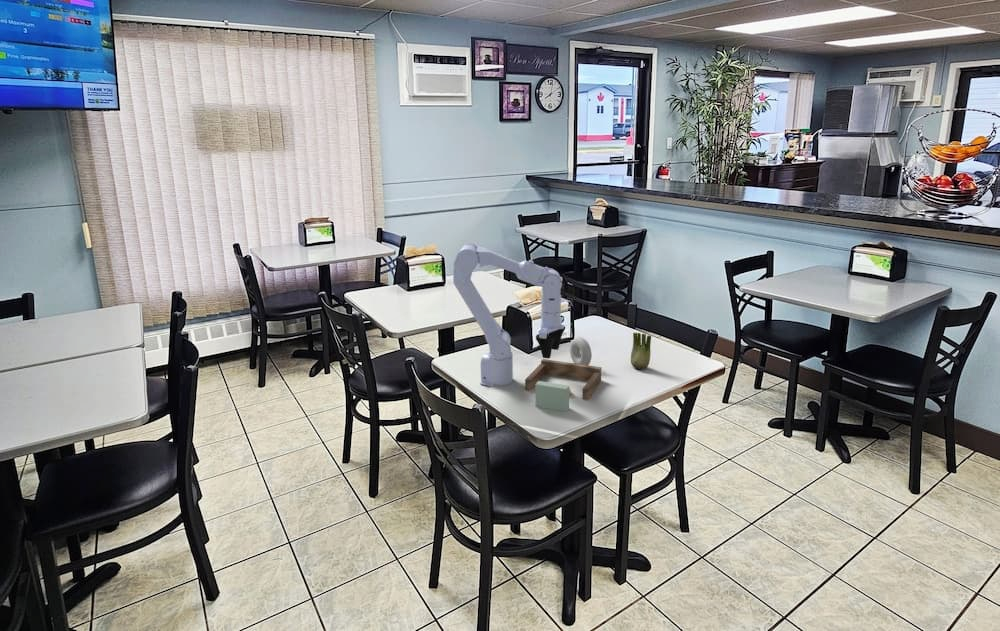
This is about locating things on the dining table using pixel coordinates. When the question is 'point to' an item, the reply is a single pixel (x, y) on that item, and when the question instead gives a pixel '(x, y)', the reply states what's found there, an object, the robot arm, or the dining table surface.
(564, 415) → the dining table surface
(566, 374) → the frame
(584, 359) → the donut
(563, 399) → the board
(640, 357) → the fennel bulb
